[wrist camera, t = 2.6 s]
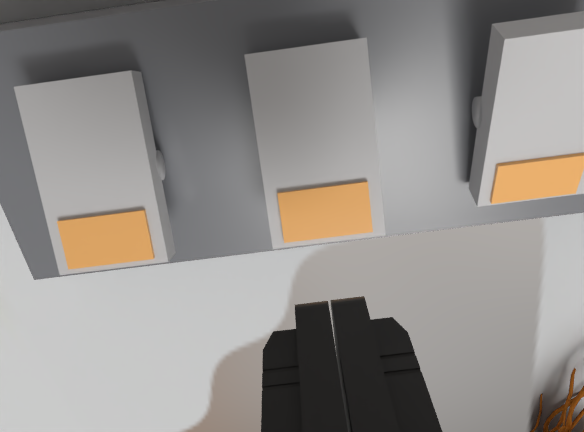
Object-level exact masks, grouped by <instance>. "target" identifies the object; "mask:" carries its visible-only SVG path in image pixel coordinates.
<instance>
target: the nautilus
mask: <svg viewBox="0 0 584 432" xmlns="http://www.w3.org/2000/svg"><path fill="white" fill-rule="evenodd" d="M575 371H576V369H575V368H574V370H573V372H572V374H571V379H570V388H569V394H568V397H567V399H566V402H565V404H564V405H562V406H561V407H559V408H558V409H556V410H555V411H553V412H552V414H551V415H550V416H549V417H548V418H547V420H546V421H545V423H544V427H543V432H555V431H556V430H557V429H558V432H571V431H572V429H573V428H574V427H575V425H576V424H577V423H578V421H579V420H580V419H581V418H582V416H583V415H584V409H583V410H582V411H581V412H580V413H579V415H578V416H577V417H576V419H575V420H574V421H573V423H572V415H573V412H574V409H575V406H576V405H577V404H578V402H579V401H580V399H581V398H582V397H584V386H583V388H582V389H581V391H580V392H579V394H578V395H577V396H576V397H574V398H573V399H571V397H572V394H573V384H574V374H575ZM542 394H543V393H542ZM542 394H541V395H540V411H539V415H538V419H537V422H536V425H535V428H534V429H533V430H532V431H530V432H534V431H535V430H536V428H537V427H538V425H539V421H540V417H541V413H542ZM570 399H571V400H570ZM569 406H570V409H569V412H568V416H567V420H566V425H565V419H566V411H567V408H568V407H569ZM561 411H562V414H561V417H560V420H559V422H558V424H557V425H556V427H554V428H553V429H552V430H550V431H549V429H548V425H549V423H550V421H551V420H552V419H553V418H554V417H555V416H556V415H557V414H558V413H560V412H561ZM562 423H563V425H562V426H561V424H562ZM560 426H561V427H560ZM582 432H584V430H583V431H582Z"/></svg>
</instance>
